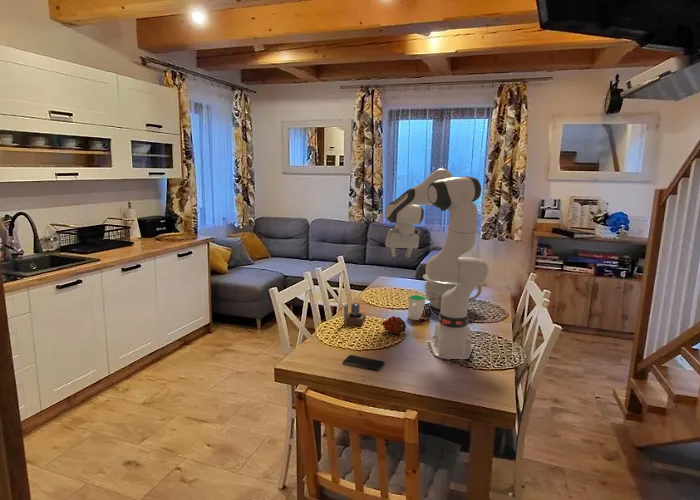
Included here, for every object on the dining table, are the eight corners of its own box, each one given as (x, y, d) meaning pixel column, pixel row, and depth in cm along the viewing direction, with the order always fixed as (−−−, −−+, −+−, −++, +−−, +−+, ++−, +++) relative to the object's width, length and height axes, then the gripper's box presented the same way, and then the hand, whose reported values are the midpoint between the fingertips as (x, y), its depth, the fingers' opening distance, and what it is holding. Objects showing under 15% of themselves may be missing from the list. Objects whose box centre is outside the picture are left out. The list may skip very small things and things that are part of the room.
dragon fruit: (407, 339, 204) (382, 338, 210) (411, 324, 210) (387, 323, 215) (401, 328, 199) (376, 327, 205) (406, 313, 204) (381, 312, 210)
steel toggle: (358, 324, 218) (358, 306, 216) (350, 323, 219) (350, 305, 217) (359, 321, 222) (360, 303, 220) (351, 320, 223) (352, 302, 221)
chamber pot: (411, 302, 253) (413, 266, 249) (451, 297, 265) (453, 263, 261) (441, 318, 229) (443, 279, 225) (483, 312, 240) (487, 274, 236)
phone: (378, 369, 169) (342, 362, 175) (378, 372, 169) (341, 364, 175) (385, 361, 176) (349, 354, 182) (385, 364, 176) (349, 357, 182)
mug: (421, 323, 221) (422, 303, 219) (405, 321, 224) (406, 301, 222) (425, 315, 232) (426, 296, 230) (409, 313, 235) (410, 294, 233)
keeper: (361, 327, 214) (361, 307, 212) (343, 325, 216) (343, 305, 214) (365, 320, 224) (365, 300, 222) (348, 318, 226) (348, 299, 224)
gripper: (392, 229, 218) (389, 257, 220) (422, 231, 231) (419, 258, 232) (384, 227, 223) (381, 255, 224) (413, 230, 236) (410, 256, 237)
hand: (400, 256), depth 228 cm, fingers open, 8 cm apart
